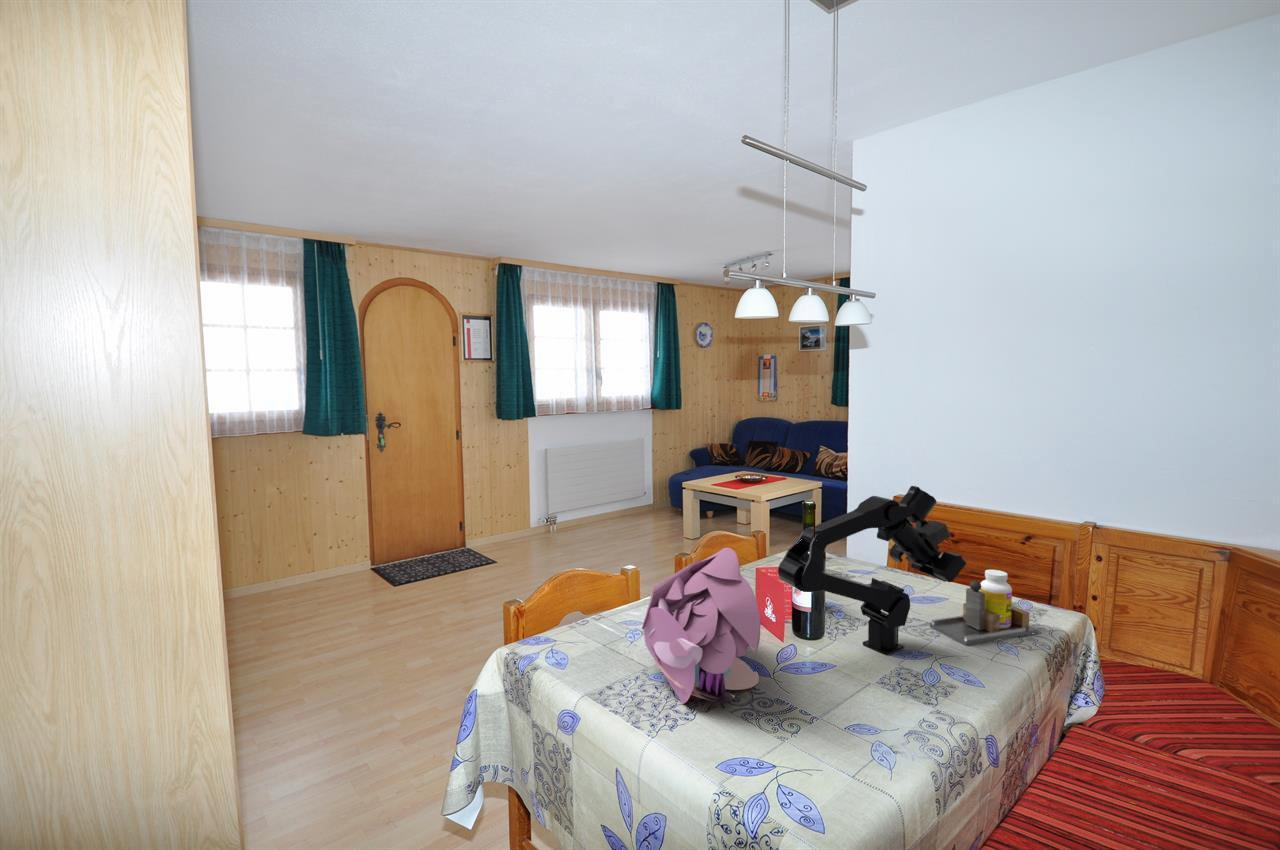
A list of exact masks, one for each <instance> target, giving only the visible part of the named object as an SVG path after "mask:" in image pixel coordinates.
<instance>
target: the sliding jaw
mask: <svg viewBox="0 0 1280 850" xmlns="http://www.w3.org/2000/svg"><path fill="white" fill-rule="evenodd" d="M965 589H966V591H965V594H966V595H965V603H963V604H962V605H963V606H962V607H963V610H962V615H963V619H964V620H966V624H968V625H970V626H972V627H974V628H976V629H978V630H982V629H985V630H987V631H989V632H994V631H999V623H1000V615H998V614H996V613H993V612H991V611H989V610H986V609H985V593H983V592H981V591H980V589H981V582H980V581H978V580H972V581H971V582H970V583H969V587H967V588H965Z"/></svg>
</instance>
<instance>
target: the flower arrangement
mask: <svg viewBox="0 0 1280 850" xmlns="http://www.w3.org/2000/svg"><path fill="white" fill-rule="evenodd" d="M740 569H741V568H740V563H739V559H738V556H737V552H736V551H735V550H734V549H732V548H730V547H724V548H722V549H720V550H719V551H718V552H716V553H714V554H711V555H710V556H708V557H707V558H704V559H703V560H698V561H694V562H692V563H690V564H688V565H687V566H685V567H684V568H681V569H680V570H679V571H677V572H675V573H674V574H672V575H670V576H669V577H667V578H666V579H664V580H663V581H660V582H659V583H658V584H656V585H654V586H653V588H652V590H651V594H650V598H649V602H648V604H647V605H648V606H647V608H646V612H645V617H644V620H643V623H642V626H641V630H643V636H644V643H645V647H646V648H647V649H648V652H650V654H651V656H652V658H653V660H654V661H655V663H656V664H657V666H658V667H659V668H660V670H661V673H662V674H663V676H664V677H665V678H666V680H667V682H668V683H669V685H670V687H671V688H672V690H673V692H674V693H675V694H676V696H677V698H678V700H679V701H680V703H681V702H682V703H683V704H682V703H681V704H682V705H684V704H686V702H688V700H689V699H690V697H691V696H695V697H697V698H699V699H704V700H707V701H714V702H729V701H731V700H733V699H734V698H735V697H736V695H733V694H732V693H731V692H730V690H731V691H738V690H748V689H752V688H753V687H756V686H757V684H758V683H759V681H760V676H759V673H758V671H754V672H752V671H751V670H750V669H749V668H751V667H750V665H748V664H747V663H746V662H745V661H744V660H742V659H741V658H739V657H744V656H745V655H746V654H747V652H749V651H748V650H749V648H750V647H751V649H753V651H754V652H755V653H757V652H758V649H759V646H760V639H761V620H760V619H761V617H760V611H759V607H758V601H757V598H756V595H755V592H754V590H753V587H752V586H751V584H750V583H749V582H748V580H747V579H746V578H745V577H744V576H743V575H741V570H740Z"/></svg>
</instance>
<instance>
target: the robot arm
mask: <svg viewBox="0 0 1280 850" xmlns="http://www.w3.org/2000/svg"><path fill="white" fill-rule="evenodd" d="M936 505H937V499H936V498H935V497H934V496H933V495H931V494H930V493H928V492H926V491H924V490H923V489H921V488H920V487H919V486H915V485H911V486H910V487H909V488H908V490H907V491H906V493H905V495H904V496H903V498H902V499H901V500H900V501H899V502H898V501H896V500H894V499H890V498H886V497H882V496H877V495H872V496H869V497H867V498H866V499H864V500H863V501H862V502H860V503H859V504H858V506H857V507H856V508H855V509H853V510H852V511H849V512H846V513H844V514H841V515H839V516H837V517H836V516H835V517H834V518H832V519H829V520H826V521H824V522H822V523H819V524H816V525H814V526H815V538H814V526H809V527H806V528H804V529H805V530H804V529H803V530H802V532H801V534H800V535H799V537H798V539H797V540H796V541H795V542H794V543H793V544H792V545H791V546H790V547H789V548H788V549H787V550H786V553H785V555H784V557H783V558H782V561H780V563H779V565H778V569H777V573H778V574H777V575H778V577H779V580H780V581H782V582H783V583H784V582H786V583H787V584H789V585H791V586H793V587H795V588H796V589H798V590H800V591H803V592H812V593H819V592H821V591H822V592H827V593H831V594H834V595H837V596H842V597H845V598H849V599H852V600H856V601H859V602H863V603H862V604H861V606H860V611H861V614H862V615H863V616H865V617H867V618H869V620H868V624H867V625H868V627H867V632H868V635H867V637H868V639H867V640H864V641H863V642H862V645H863V646H865V647H868V648H870V649H872V650H874V651H877V652H879V653H881V654H883V655H889V654H892V653H895V652H897V651H899V650H902V649H905V645H903V644H902V643H899V627H903V626H905V625H906V622H907V619H908V617H909V612H910V609H911V599H910V596H909V594H908V593H907V592H905V589H904V588H902V587H900V586H897V585H894V584H893V583H890V582H888V581H886V580H879V579H877V578H875V577H871V583H863V582H860V581H856V580H853V579H850V578H846V577H843V576H838V575H836V574H832V573H830V572H829V573H828V572H826V571H822V569H823V566H824V558H825V557H824V554H825V550H826V548H827V546H829V545H831V544H833V543H836V542H838V541H841V540H844V539H845V538H848V537H851V536H853V535H855V534H857V533H860V532H863V531H866V530H868V529H877V533H876V538H877V539H879V540H881V541H885V542H890V541H892V542H893V545H892V546H891V548H890V549H889V550H888V551H889V554H888V555H889V557H890V558H891V559H892V560H893V561H895V562H898V563H900V564H902V562H903V561H904V559H905V560H906V562H910V563H911V564H910V568H912V569H914V570H916V571H919V572H921V573H923V574H925V575H928V576H930V577H933V578H935V579H937V580H940V581H942V582H944V583H946V582H948V583H951V582H954V580H955V579H956V578H957V576H958V575H959V574H960V572H961V571H962V570H963V569H964V568H965V566H966V565H967V560H966V559H965V558H964V557H963V555H961V554H958V553H955V552H952V551H944V552H941V551H939V549H940V544H941V543H943V542H944V541H946V540H948V539H950V538H951V534H950V531H949V529H948V526H947V524H946V523H945V522H941V521H936V520H930V519H929V520H928V521H927V520H926V518H927V517H928V515H929V514H930V513H931V511H933V508H934V507H935V506H936ZM913 524H915V526H914V525H913ZM801 539H802V540H801ZM800 540H801V541H800ZM816 540H817V541H816ZM799 541H800V542H799ZM798 542H799V544H797V543H798ZM796 545H797V546H796ZM808 551H809V554H808V555H809V556H808V560H807V562H804V561H803V560H800V559H801V558H802V557H803V555H805V554H806V553H807V552H808ZM903 555H905V556H906V557H905V558H904V559H903V558H902V557H903Z"/></svg>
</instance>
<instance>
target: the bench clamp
mask: <svg viewBox="0 0 1280 850" xmlns="http://www.w3.org/2000/svg"><path fill="white" fill-rule="evenodd" d="M929 628H931V629H932V630H935V631H936V632H939V633H941V634H942V635H945V636H947V637H948V638H950V639H952V640H954V641H956V642H957V643H960V644H961V643H962V644H961V645H963V644H964V646H965V645H966V646H972V645H977V643H978V644H983V642H984V643H990V642H989V641H991V642H995V641H994V640H997V641H999V640H998V639H1003V640H1006V639H1005V638H1009V639H1013V637H1015V638H1019V637H1018V636H1021V637H1024V636H1023V635H1027V636H1029V635H1028V634H1032V633H1037V632H1038V629H1037V628H1035V627H1032V626H1030V612H1029V611H1028V610H1024V609H1021V608H1019V607H1017V606H1013V605H1012V610H1011V626H1010V627H1009V628H1006V629H999V631H994V632H989V631H987V630H985V629H982V630H978V629H976V628H974V627H972V626H970V625H968V624H966V620H964V619H963V614H962V615H956V616H955V615H954V616H947V617H941V618H936V619H935V618H933V619H932V620H931V622H930V623H929ZM971 644H972V645H971Z"/></svg>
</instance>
